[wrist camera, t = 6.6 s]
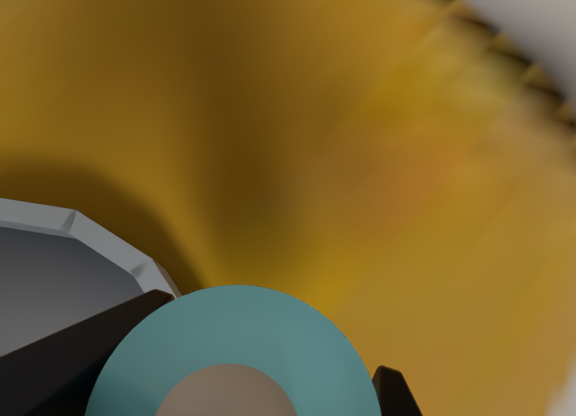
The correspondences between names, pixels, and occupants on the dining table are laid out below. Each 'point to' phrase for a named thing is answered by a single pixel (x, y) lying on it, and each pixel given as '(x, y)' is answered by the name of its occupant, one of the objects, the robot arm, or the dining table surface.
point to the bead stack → (234, 361)
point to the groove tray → (64, 271)
